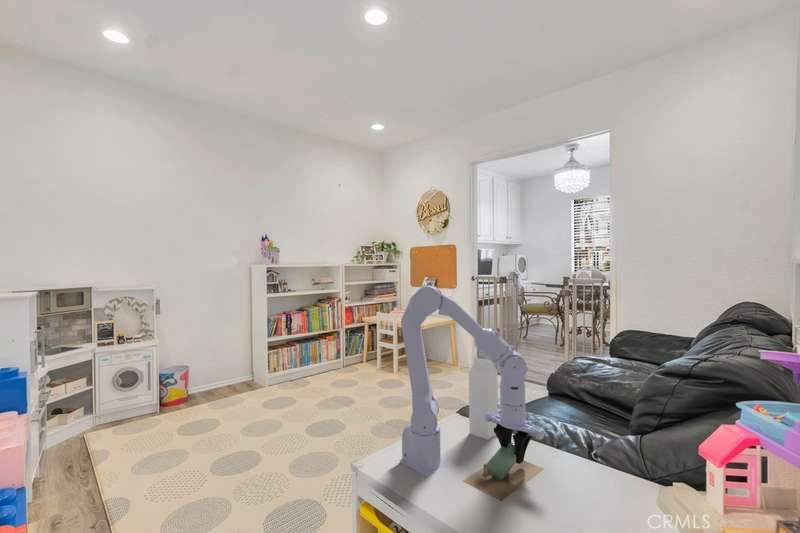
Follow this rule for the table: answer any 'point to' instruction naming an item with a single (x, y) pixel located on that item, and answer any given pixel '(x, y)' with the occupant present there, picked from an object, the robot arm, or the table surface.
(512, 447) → the bottle
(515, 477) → the rest board
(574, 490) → the table surface
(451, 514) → the table surface
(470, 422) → the milk
